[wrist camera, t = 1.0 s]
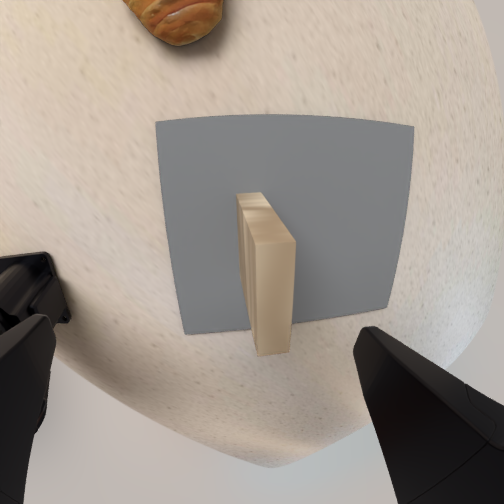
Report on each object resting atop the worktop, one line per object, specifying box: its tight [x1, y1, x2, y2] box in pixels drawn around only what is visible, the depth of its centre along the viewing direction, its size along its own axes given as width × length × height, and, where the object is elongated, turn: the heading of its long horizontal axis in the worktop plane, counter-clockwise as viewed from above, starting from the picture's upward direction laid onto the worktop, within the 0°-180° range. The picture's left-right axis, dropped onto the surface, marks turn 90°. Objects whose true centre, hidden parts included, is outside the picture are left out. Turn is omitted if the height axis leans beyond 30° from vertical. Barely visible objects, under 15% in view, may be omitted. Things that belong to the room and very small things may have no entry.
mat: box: [156, 114, 414, 334], centre depth 20 cm, size 18×16×1 cm
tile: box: [236, 192, 296, 356], centre depth 16 cm, size 2×6×8 cm, turn 2°
